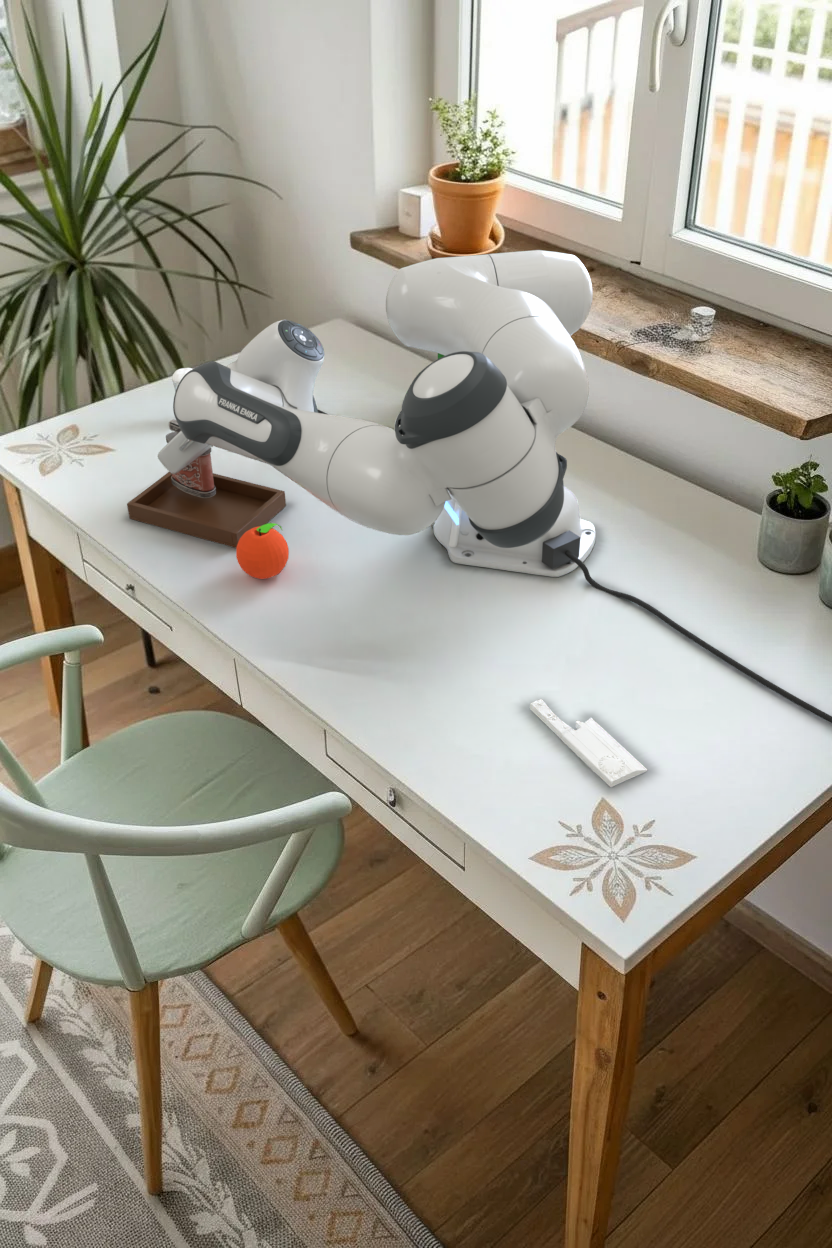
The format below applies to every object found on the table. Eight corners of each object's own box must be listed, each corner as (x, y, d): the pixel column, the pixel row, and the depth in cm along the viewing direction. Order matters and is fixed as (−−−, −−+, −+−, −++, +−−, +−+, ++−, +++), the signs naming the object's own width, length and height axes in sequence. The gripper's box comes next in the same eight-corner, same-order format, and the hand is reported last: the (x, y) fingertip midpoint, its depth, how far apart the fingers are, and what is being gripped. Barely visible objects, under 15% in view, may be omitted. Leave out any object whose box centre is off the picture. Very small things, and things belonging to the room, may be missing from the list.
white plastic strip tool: (565, 694, 141) (566, 687, 140) (647, 772, 131) (648, 764, 130) (529, 708, 139) (530, 701, 138) (609, 788, 129) (610, 780, 128)
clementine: (264, 551, 167) (259, 506, 162) (305, 565, 164) (301, 520, 160) (228, 579, 161) (222, 534, 157) (270, 594, 158) (265, 548, 154)
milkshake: (209, 428, 196) (201, 371, 190) (176, 428, 196) (167, 371, 190) (213, 415, 200) (206, 359, 194) (181, 415, 200) (173, 359, 194)
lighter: (221, 491, 176) (214, 429, 170) (204, 500, 174) (196, 437, 168) (183, 474, 180) (176, 413, 174) (166, 483, 178) (157, 421, 172)
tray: (286, 506, 176) (284, 491, 175) (238, 548, 167) (236, 533, 166) (180, 478, 183) (178, 464, 182) (129, 518, 174) (126, 503, 173)
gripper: (210, 454, 157) (159, 503, 167) (291, 391, 172) (240, 439, 182) (177, 416, 156) (127, 468, 166) (262, 356, 171) (212, 407, 181)
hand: (187, 452), depth 174 cm, fingers closed on lighter, 3 cm apart
